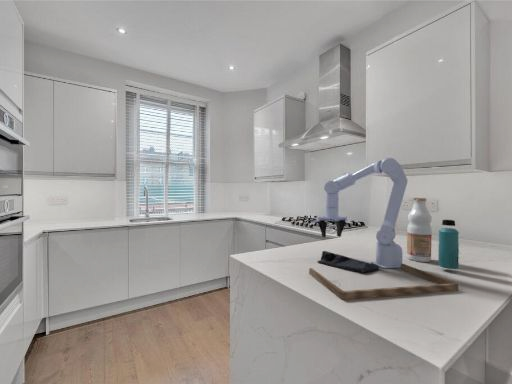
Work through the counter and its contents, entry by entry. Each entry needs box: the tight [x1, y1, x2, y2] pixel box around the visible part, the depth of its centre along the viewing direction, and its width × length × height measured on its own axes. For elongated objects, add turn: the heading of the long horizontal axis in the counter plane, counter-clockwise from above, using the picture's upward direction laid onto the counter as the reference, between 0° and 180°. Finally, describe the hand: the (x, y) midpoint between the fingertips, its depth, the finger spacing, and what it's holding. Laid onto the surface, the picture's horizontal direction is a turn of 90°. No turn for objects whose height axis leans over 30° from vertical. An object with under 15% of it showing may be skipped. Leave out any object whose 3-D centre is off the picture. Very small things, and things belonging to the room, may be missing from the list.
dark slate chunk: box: [316, 250, 380, 273], centre depth 106 cm, size 15×22×5 cm
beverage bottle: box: [437, 219, 460, 270], centre depth 100 cm, size 6×7×20 cm
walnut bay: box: [308, 263, 459, 301], centre depth 87 cm, size 40×22×2 cm, turn 102°
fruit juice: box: [406, 197, 432, 263], centre depth 116 cm, size 9×9×28 cm
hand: (331, 236), depth 118 cm, fingers open, 7 cm apart
